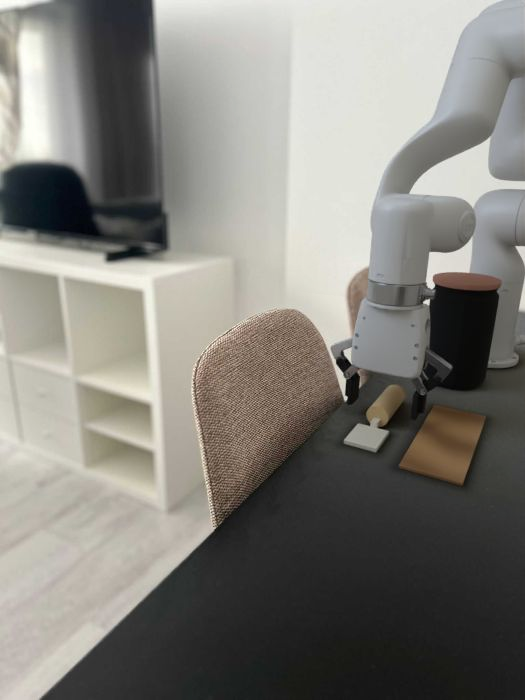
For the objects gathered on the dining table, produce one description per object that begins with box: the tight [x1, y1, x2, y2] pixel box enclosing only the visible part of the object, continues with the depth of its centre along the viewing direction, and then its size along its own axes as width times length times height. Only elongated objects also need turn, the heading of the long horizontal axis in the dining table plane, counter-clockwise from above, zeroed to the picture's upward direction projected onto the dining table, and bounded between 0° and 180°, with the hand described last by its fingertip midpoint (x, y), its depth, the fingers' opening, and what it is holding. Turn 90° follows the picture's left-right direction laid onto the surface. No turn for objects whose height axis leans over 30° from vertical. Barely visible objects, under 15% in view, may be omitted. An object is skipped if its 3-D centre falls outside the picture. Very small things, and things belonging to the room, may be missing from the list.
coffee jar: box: [423, 271, 502, 391], centre depth 87 cm, size 11×11×18 cm
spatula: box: [343, 384, 406, 453], centre depth 73 cm, size 16×4×3 cm, turn 150°
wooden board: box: [398, 404, 487, 487], centre depth 69 cm, size 20×8×1 cm, turn 150°
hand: (383, 408), depth 75 cm, fingers open, 9 cm apart
